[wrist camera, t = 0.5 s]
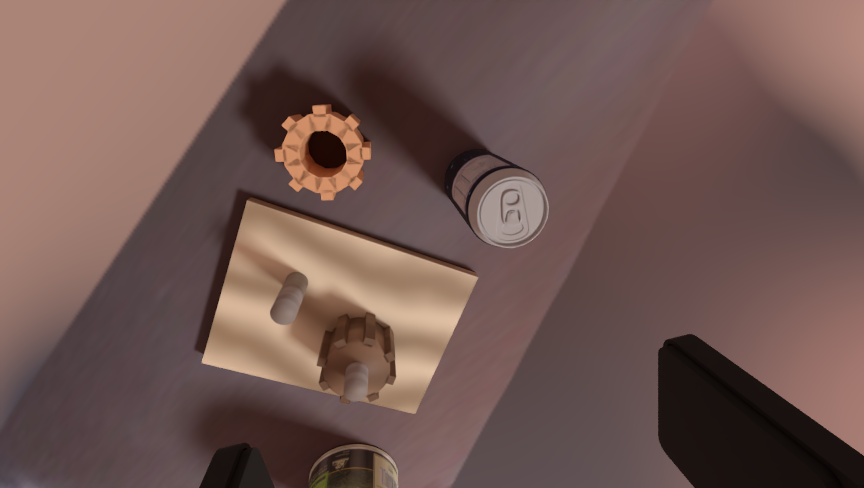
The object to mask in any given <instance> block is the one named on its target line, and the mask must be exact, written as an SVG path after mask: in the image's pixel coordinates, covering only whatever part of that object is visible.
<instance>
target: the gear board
mask: <svg viewBox="0 0 864 488" xmlns="http://www.w3.org/2000/svg"><path fill="white" fill-rule="evenodd" d="M477 279H478V276H477V274H476V272H473V271H470V270H467V269H464V268H461V267H458V266H455V265H452V264H449V263H446V262H443V261H440V260H437V259H434V258H431V257H428V256H425V255H422V254H419V253H416V252H413V251H410V250H407V249H404V248H401V247H398V246H395V245H392V244H389V243H386V242H383V241H380V240H377V239H374V238H371V237H368V236H365V235H362V234H359V233H356V232H353V231H350V230H348V229H345V228H342V227H339V226H336V225H333V224H330V223H327V222H324V221H321V220H318V219H315V218H312V217H309V216H306V215H303V214H300V213H297V212H294V211H291V210H288V209H285V208H282V207H279V206H276V205H273V204H270V203H267V202H264V201H261V200H258V199H255V198H252V197H251V198H249V199H248V200H247V202H246V206H245V209H244V213H243V217H242V220H241V224H240V227H239V231H238V235H237V238H236V242H235V245H234V249H233V252H232V256H231V260H230V263H229V267H228V270H227V274H226V278H225V281H224V285H223V288H222V292H221V295H220V299H219V303H218V306H217V310H216V313H215V317H214V320H213V324H212V328H211V331H210V335H209V338H208V342H207V346H206V349H205V353H204V356H203V360H202V363H204V364H208V365H212V366H217V367H221V368H225V369H229V370H233V371H237V372H242V373H246V374H250V375H254V376H258V377H262V378H267V379H271V380H275V381H279V382H283V383H288V384H292V385H296V386H300V387H304V388H308V389H313V390H317V391H321V392H325V393H329V394H333V395H338V396H340V402H342V403H346V404H349V403H350V401H363V402H367V403H371V404H375V405H379V406H384V407H388V408H392V409H396V410H400V411H404V412H409V413H413V414H415V413H416V411H417V409H418V406H419V404H420V402H421V400H422V398H423V396H424V393H425V391H426V389H427V387H428V385H429V383H430V380H431V378H432V376H433V374H434V372H435V370H436V368H437V365H438V363H439V361H440V359H441V357H442V355H443V352H444V350H445V348H446V346H447V344H448V342H449V339H450V337H451V335H452V333H453V331H454V329H455V327H456V324H457V322H458V320H459V318H460V316H461V314H462V311H463V309H464V307H465V305H466V303H467V301H468V298H469V296H470V294H471V292H472V290H473V288H474V286H475V283H476V281H477Z"/></svg>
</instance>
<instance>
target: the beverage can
mask: <svg viewBox="0 0 864 488" xmlns="http://www.w3.org/2000/svg"><path fill="white" fill-rule="evenodd" d="M445 189H446V192H447V195H448V197H449V199H450V200H451V201H452V203H453V204H454V206H455V207H456V208H457V210H458V211H459V213H460V214H461V216H462V217H463V218H464V220H465V221H466V223H467V224H468V225H469V227H470V228H471V230H472V231H473V232H474V234H475V235H476V236H477V237H478V238H479V239H480V240H482V241H483V242H485V243H487V244H489V245H492V246H496V247H504V248H514V247H519V246H522V245H524V244H526V243H528V242H530V241H531V240H533V239H534V238H535V237H536V236H537V235H538V234H539V233H540V232H541V230H542V229H543V227H544V225H545V223H546V221H547V217H548V211H549V208H548V200H547V196H546V192H545V189H544V187H543V185H542V183H541V182H540V180H539V179H538V178H537V177H536V176H535V175H534V174H532V173H531V172H529V171H527V170H525V169H523V168H521V167H519V166H517V165H515V164H513V163H511V162H509V161H507V160H505V159H503V158H501V157H499V156H497V155H495V154H493V153H491V152H489V151H486V150H482V149H473V150H469V151H466V152H463V153H462V154H460V155H459V156H457V157H456V158H455V159H454V160H453V161H452V162H451V164H450V165H449V167H448V169H447V172H446V175H445Z"/></svg>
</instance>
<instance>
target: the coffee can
mask: <svg viewBox="0 0 864 488" xmlns="http://www.w3.org/2000/svg"><path fill="white" fill-rule="evenodd" d="M308 488H398V469H397V466H396V464H395V462H394V461H393V459H392V458H391V457H390V456H389V455H388V454H387V453H386V452H384V451H383V450H381V449H379V448H376V447H374V446H369V445H365V444H349V445H344V446H339V447H337V448H334V449H332V450H330V451H328V452H327V453H325V454H324V455H322V456H321V457H320V458H319V459H318V460H317V461H316V462H315V463H314V465H313V467H312V469H311V471H310V475H309V485H308Z"/></svg>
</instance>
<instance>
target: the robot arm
mask: <svg viewBox="0 0 864 488" xmlns="http://www.w3.org/2000/svg"><path fill="white" fill-rule="evenodd" d="M658 436H659V441H660V444H661V446H662V448H663V450H664V451H665V453H666V454H667V455H668V457H669V458H670V459H671V460H672V461H673V463H674V464H675V465H676V466H677V467H678V468H679V470H680V471H681V472H682V473H683V474H684V476H685V477H686V478H687V479H688V480H689V482H690V483H691V484H692V485H693V486H694V487H695V488H864V456H863V455H862V454H860V453H859V452H858V451H856V450H855V449H853V448H852V447H850V446H849V445H848V444H846V443H845V442H844V441H842V440H841V439H839V438H838V437H837V436H835V435H834V434H832V433H831V432H829V431H828V430H827V429H825V428H824V427H823V426H821V425H820V424H818V423H817V422H816V421H814V420H813V419H811V418H810V417H809V416H807V415H806V414H804V413H803V412H802V411H800V410H799V409H797V408H796V407H795V406H793V405H792V404H790V403H789V402H788V401H786V400H785V399H783V398H782V397H781V396H779V395H778V394H776V393H775V392H774V391H772V390H771V389H769V388H768V387H767V386H765V385H764V384H762V383H761V382H760V381H758V380H757V379H755V378H754V377H753V376H751V375H750V374H748V373H747V372H746V371H744V370H743V369H741V368H740V367H739V366H737V365H736V364H734V363H733V362H732V361H730V360H729V359H727V358H726V357H725V356H723V355H722V354H720V353H719V352H718V351H716V350H715V349H713V348H712V347H711V346H709V345H708V344H706V343H705V342H704V341H702V340H701V339H699V338H698V337H697V336H695V335H692V334H688V335H684V336H680V337H675V338H672V339H668V340H666V341H665V342H664V344H663V347H662V348H660V349H659V352H658ZM199 488H274V485H273V483H272V480H271V478H270V476H269V473H268V471H267V468H266V466H265V464H264V461H263V459H262V456H261V454H260V452H259V450H258V449H257V448H251V447H250V446H249V444H247V443H241V444H237V445H233V446H229V447H225V448H221V449H219V450H217V451H216V453H215V454H214V456H213V458H212V461H211V463H210V465H209V467H208V469H207V472H206V474H205V476H204V478H203V481H202V483H201V485H200V487H199Z"/></svg>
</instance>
